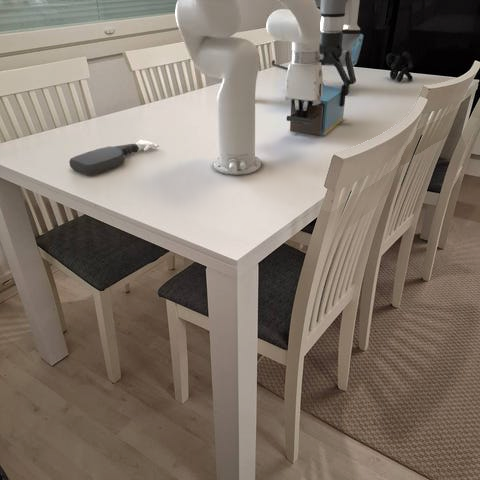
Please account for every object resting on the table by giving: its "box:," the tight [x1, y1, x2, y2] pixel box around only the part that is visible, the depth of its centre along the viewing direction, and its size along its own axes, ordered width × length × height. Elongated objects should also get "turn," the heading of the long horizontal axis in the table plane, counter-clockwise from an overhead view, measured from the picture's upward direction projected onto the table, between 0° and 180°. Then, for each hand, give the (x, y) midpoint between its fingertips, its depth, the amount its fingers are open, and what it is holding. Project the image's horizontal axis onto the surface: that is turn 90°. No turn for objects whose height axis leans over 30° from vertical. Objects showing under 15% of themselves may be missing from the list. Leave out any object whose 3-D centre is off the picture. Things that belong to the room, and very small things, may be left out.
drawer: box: [286, 101, 324, 136], centre depth 140 cm, size 24×10×9 cm, turn 151°
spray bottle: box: [68, 139, 160, 177], centre depth 124 cm, size 3×11×24 cm
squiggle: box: [385, 51, 414, 83], centre depth 198 cm, size 11×10×15 cm
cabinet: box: [302, 85, 345, 137], centre depth 145 cm, size 19×11×11 cm, turn 151°
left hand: (301, 122), depth 134 cm, fingers closed
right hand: (324, 103), depth 149 cm, fingers closed on cabinet, 11 cm apart
